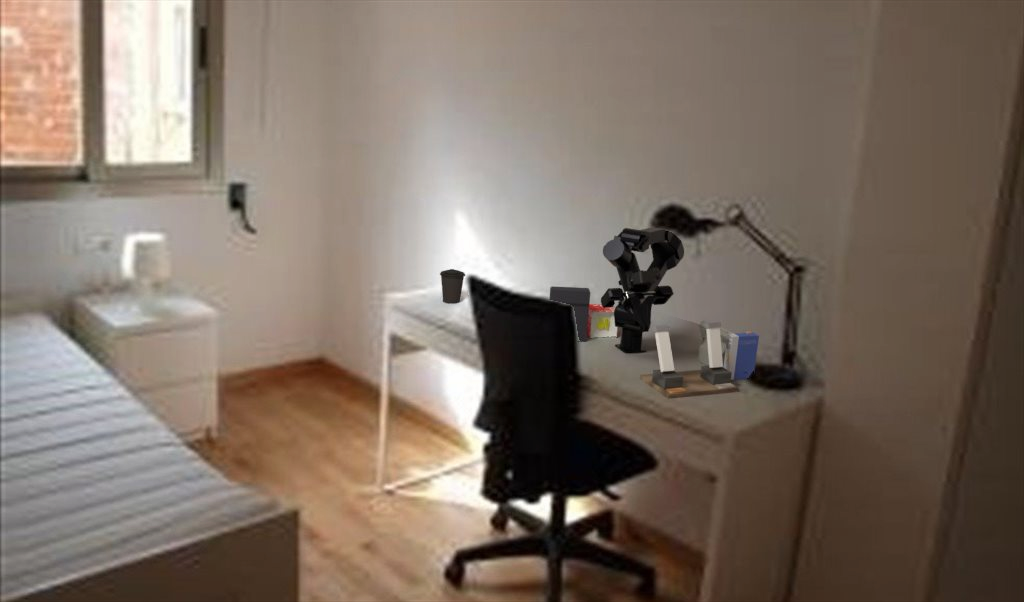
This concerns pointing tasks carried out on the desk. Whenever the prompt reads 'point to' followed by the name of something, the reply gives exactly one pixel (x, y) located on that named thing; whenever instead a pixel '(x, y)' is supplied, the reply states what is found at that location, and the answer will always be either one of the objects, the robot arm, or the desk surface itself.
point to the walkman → (741, 354)
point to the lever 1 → (664, 348)
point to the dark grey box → (575, 305)
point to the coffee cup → (452, 285)
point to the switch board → (691, 382)
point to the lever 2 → (714, 344)
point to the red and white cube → (601, 321)
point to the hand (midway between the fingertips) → (646, 325)
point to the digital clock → (703, 348)
